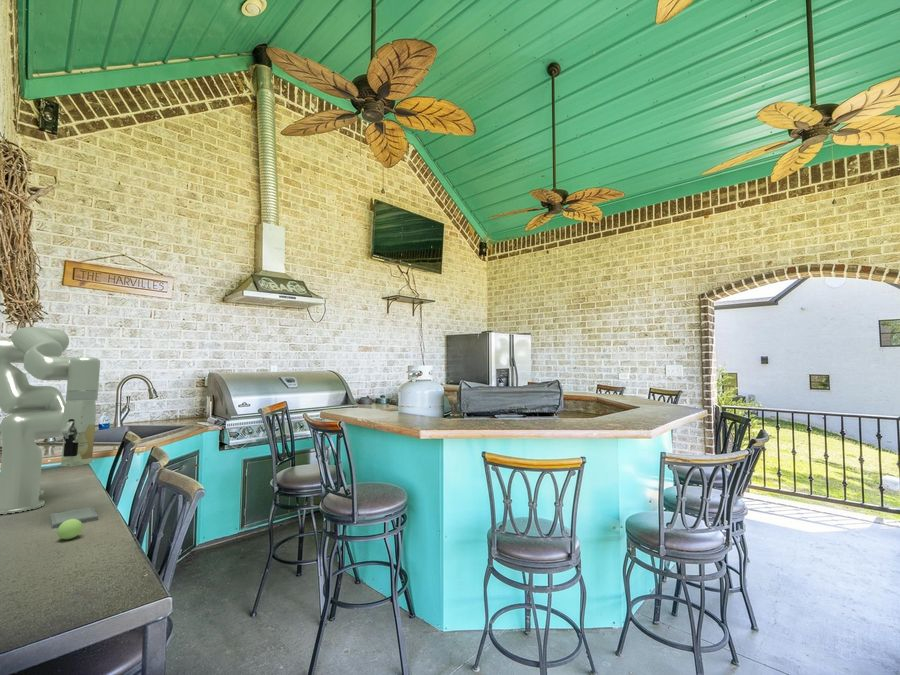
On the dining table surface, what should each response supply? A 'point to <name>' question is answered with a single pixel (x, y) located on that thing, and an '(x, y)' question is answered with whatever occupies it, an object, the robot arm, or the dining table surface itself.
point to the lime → (69, 529)
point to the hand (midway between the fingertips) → (77, 453)
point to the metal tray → (73, 516)
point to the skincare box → (81, 449)
